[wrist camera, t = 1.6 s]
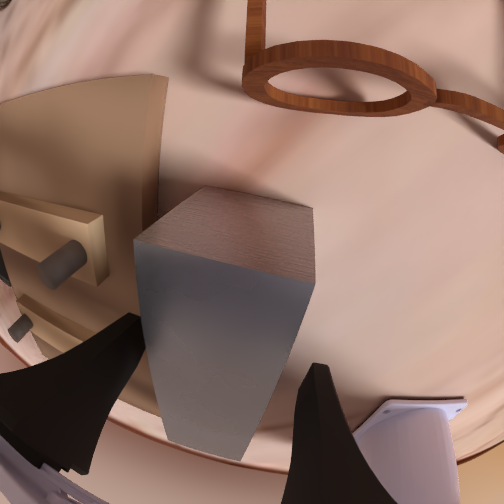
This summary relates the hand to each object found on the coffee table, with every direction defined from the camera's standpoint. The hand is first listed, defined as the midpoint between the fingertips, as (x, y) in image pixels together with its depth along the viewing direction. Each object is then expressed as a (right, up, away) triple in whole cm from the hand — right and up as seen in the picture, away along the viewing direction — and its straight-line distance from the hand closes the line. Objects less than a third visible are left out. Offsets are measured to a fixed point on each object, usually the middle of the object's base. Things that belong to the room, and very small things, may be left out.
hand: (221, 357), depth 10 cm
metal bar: (+1, +1, +2) cm, 3 cm away
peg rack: (-10, +3, +4) cm, 11 cm away
